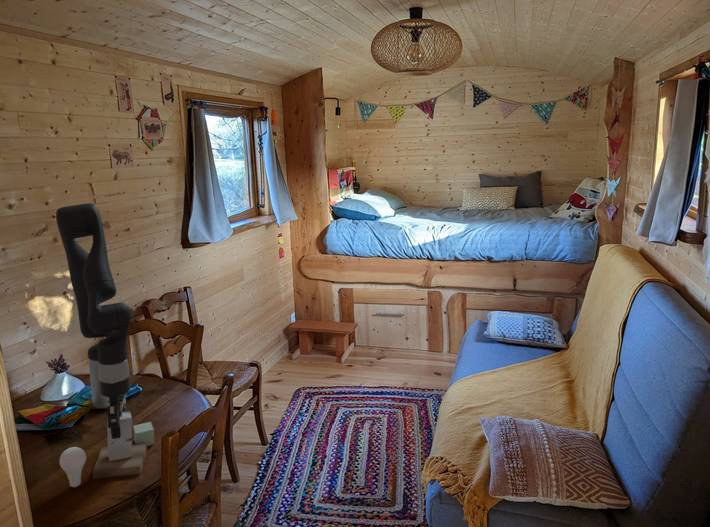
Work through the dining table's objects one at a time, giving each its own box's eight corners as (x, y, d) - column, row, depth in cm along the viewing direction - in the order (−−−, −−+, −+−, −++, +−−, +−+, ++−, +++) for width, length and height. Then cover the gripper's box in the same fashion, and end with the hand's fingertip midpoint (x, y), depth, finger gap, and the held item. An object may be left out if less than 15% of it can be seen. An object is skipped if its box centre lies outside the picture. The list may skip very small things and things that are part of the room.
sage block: (134, 440, 162) (133, 425, 161) (151, 436, 165) (150, 421, 164) (137, 448, 158) (135, 433, 157) (154, 444, 161) (153, 429, 159)
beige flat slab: (103, 455, 155) (102, 446, 155) (147, 451, 158) (146, 442, 157) (93, 481, 144) (92, 471, 143) (140, 476, 146) (140, 466, 146)
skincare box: (109, 462, 147) (107, 422, 144) (107, 453, 151) (105, 414, 148) (133, 456, 150) (132, 417, 147) (130, 448, 154) (129, 410, 151)
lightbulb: (68, 479, 143) (64, 442, 141) (92, 478, 144) (88, 442, 141) (58, 494, 137) (53, 455, 135) (83, 493, 138) (79, 455, 135)
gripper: (104, 366, 151) (108, 418, 154) (93, 388, 137) (99, 445, 141) (132, 363, 152) (136, 415, 156) (125, 385, 139) (129, 441, 143)
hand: (118, 429), depth 148 cm, fingers open, 8 cm apart
